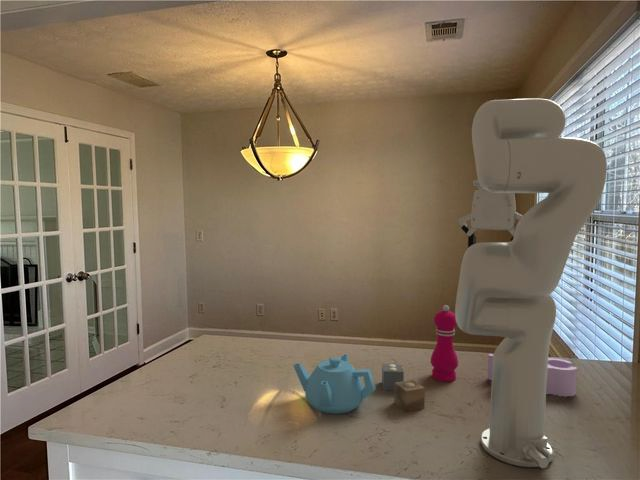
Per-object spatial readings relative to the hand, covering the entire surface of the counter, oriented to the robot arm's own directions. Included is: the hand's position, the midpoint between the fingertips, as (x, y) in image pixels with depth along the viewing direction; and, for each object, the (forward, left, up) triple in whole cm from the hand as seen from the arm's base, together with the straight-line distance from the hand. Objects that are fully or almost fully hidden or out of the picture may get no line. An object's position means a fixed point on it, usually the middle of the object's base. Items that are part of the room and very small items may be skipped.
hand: (492, 252), depth 109 cm
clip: (-2, -11, -35) cm, 37 cm away
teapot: (-1, +41, -35) cm, 54 cm away
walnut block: (-6, +24, -35) cm, 43 cm away
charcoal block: (+5, +24, -35) cm, 43 cm away
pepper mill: (+8, +8, -35) cm, 37 cm away
